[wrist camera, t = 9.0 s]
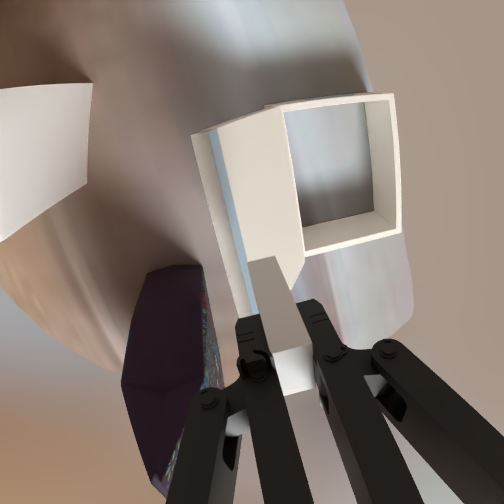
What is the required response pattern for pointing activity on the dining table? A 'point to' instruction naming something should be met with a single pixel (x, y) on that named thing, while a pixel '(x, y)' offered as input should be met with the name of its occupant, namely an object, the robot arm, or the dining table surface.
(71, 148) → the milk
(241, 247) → the lid
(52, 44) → the dining table surface
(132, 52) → the dining table surface
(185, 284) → the decorative box
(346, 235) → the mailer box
